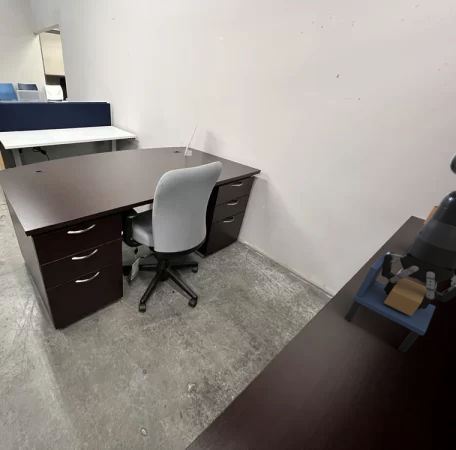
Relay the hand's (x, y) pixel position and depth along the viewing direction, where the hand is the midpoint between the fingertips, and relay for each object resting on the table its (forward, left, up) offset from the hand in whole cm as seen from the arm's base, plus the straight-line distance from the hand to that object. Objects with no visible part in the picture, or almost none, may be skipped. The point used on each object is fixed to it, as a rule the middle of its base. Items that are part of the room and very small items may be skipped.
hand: (402, 300), depth 58 cm
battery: (+2, -56, -9) cm, 57 cm away
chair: (+1, 0, -9) cm, 9 cm away
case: (0, 0, 0) cm, 0 cm away
